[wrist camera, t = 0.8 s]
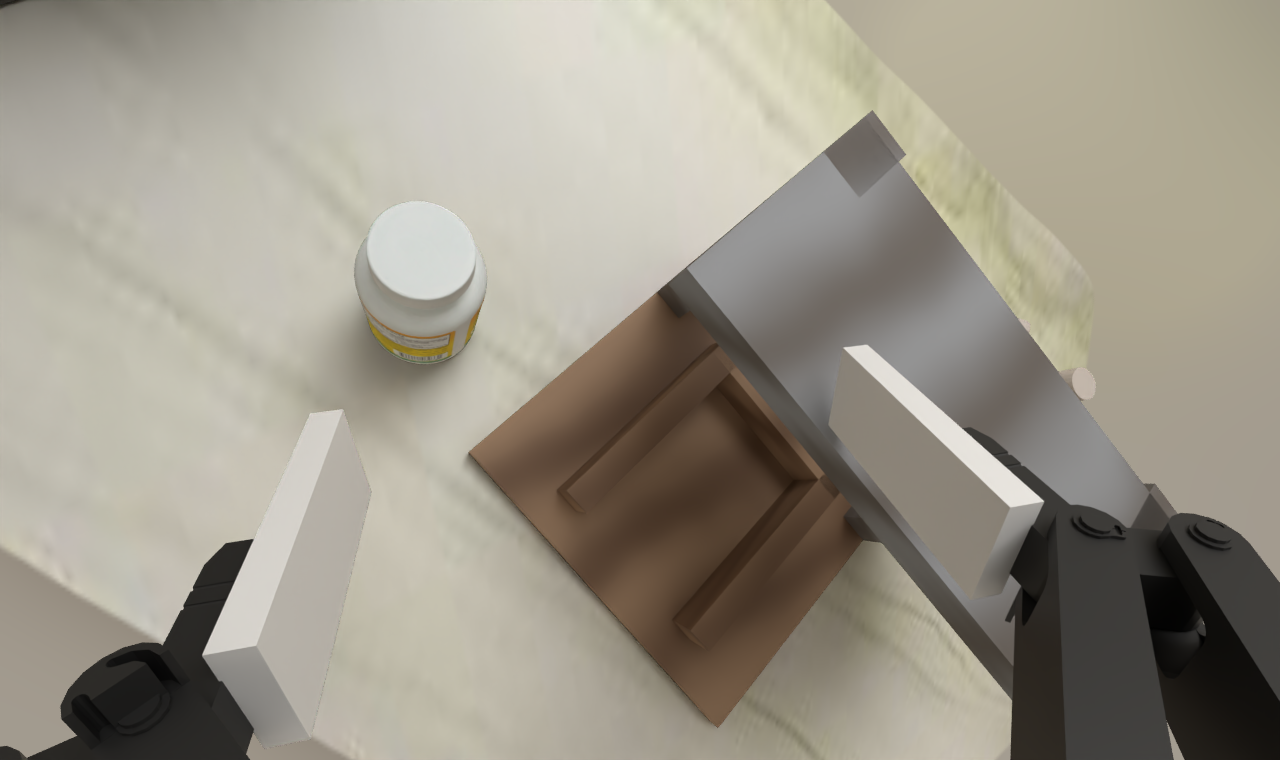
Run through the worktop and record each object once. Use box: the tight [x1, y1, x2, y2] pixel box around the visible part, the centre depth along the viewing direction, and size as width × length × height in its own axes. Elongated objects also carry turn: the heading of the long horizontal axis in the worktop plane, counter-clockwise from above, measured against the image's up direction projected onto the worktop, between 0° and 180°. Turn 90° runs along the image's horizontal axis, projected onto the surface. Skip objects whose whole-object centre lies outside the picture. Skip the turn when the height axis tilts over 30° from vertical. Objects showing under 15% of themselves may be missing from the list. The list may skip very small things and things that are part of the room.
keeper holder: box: [468, 110, 1177, 728], centre depth 27 cm, size 20×18×17 cm
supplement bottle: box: [354, 201, 487, 364], centre depth 27 cm, size 5×5×10 cm
